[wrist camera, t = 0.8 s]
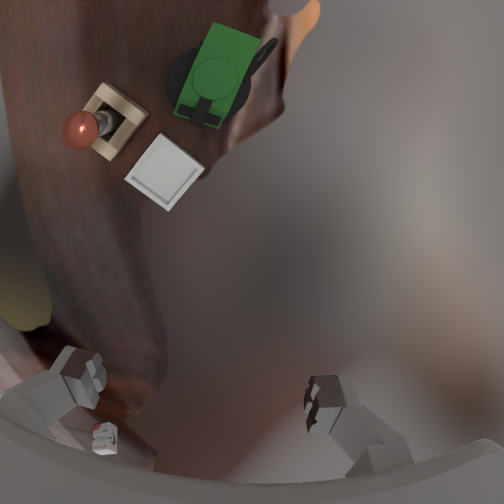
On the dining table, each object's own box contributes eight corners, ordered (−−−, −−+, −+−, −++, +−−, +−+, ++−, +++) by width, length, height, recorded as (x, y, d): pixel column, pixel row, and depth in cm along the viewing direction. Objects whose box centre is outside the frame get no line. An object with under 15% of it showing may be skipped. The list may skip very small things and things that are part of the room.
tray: (127, 175, 46) (124, 179, 44) (161, 131, 44) (160, 133, 42) (169, 206, 51) (168, 211, 49) (203, 165, 48) (204, 168, 46)
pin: (95, 123, 40) (55, 136, 26) (111, 101, 39) (76, 103, 25) (114, 137, 42) (82, 157, 28) (131, 116, 41) (105, 124, 27)
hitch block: (79, 126, 39) (69, 130, 35) (110, 83, 37) (102, 82, 33) (117, 155, 44) (110, 161, 40) (149, 113, 42) (145, 114, 38)
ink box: (101, 430, 84) (100, 455, 74) (93, 424, 81) (91, 451, 71) (118, 427, 84) (117, 454, 74) (109, 421, 81) (108, 449, 71)
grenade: (252, 57, 40) (293, 34, 24) (221, 126, 46) (244, 143, 29) (192, 36, 37) (198, -3, 20) (162, 107, 42) (146, 111, 25)
